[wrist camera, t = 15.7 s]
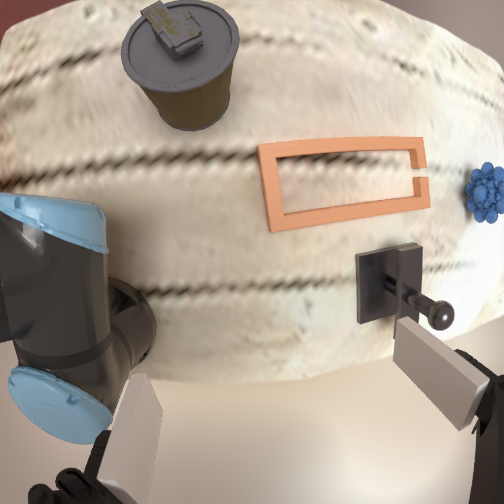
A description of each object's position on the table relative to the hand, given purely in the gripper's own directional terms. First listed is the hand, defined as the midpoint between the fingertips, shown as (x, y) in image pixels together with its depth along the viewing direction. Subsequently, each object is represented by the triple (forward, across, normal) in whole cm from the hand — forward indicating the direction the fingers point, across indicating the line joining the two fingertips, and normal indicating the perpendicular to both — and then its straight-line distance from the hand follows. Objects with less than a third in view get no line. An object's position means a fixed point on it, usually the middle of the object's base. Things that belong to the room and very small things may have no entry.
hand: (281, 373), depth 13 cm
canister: (+29, -3, +23) cm, 37 cm away
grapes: (+29, +45, +4) cm, 54 cm away
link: (+29, +19, +8) cm, 35 cm away
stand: (+29, +24, -10) cm, 39 cm away
